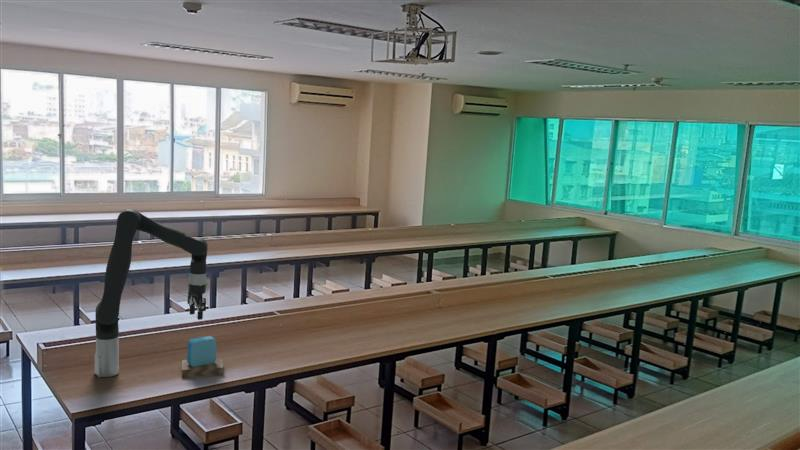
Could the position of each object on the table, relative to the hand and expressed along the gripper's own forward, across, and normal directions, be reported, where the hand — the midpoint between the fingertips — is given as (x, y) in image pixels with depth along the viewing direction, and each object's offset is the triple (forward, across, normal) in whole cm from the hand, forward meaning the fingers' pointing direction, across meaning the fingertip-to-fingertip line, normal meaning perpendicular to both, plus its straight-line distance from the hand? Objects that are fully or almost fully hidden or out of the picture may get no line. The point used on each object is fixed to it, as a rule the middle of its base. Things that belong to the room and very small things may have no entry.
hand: (195, 316), depth 296 cm
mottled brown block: (+26, +3, +3) cm, 27 cm away
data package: (+22, +2, +3) cm, 23 cm away
